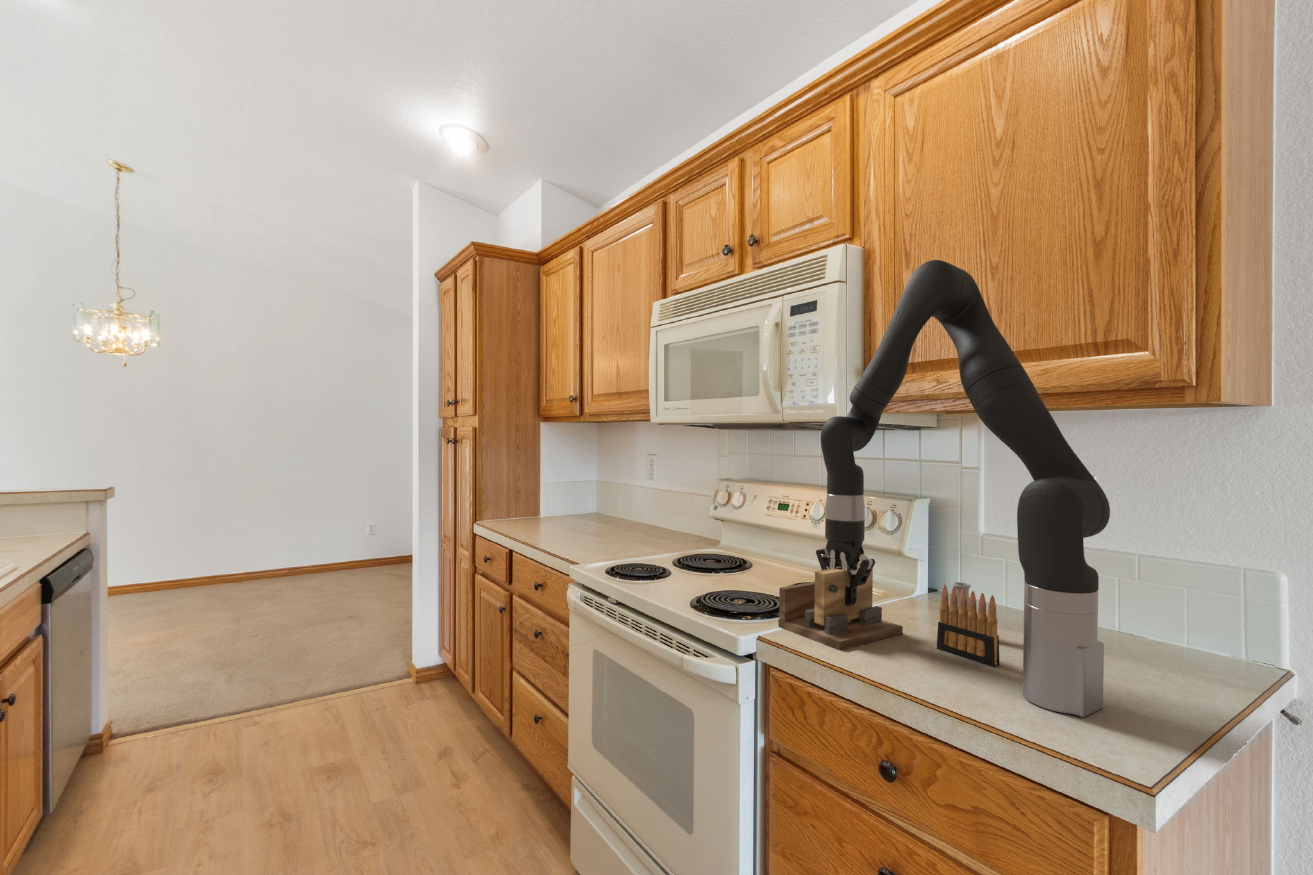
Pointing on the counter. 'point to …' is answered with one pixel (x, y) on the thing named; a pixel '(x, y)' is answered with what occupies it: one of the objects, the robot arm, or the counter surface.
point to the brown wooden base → (830, 620)
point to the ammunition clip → (968, 628)
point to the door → (838, 595)
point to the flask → (959, 587)
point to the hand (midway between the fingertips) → (843, 602)
